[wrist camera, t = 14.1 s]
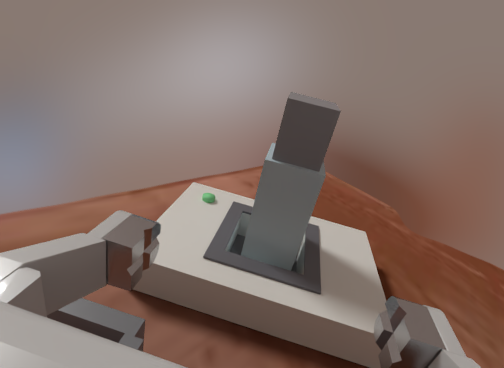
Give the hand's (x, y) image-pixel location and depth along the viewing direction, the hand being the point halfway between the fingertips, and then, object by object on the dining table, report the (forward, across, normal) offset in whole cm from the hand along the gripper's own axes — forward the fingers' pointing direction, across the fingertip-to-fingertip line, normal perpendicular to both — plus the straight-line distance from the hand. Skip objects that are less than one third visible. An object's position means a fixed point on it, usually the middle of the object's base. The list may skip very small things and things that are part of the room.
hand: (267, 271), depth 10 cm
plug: (+12, 0, +10) cm, 15 cm away
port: (+12, 0, +10) cm, 15 cm away
